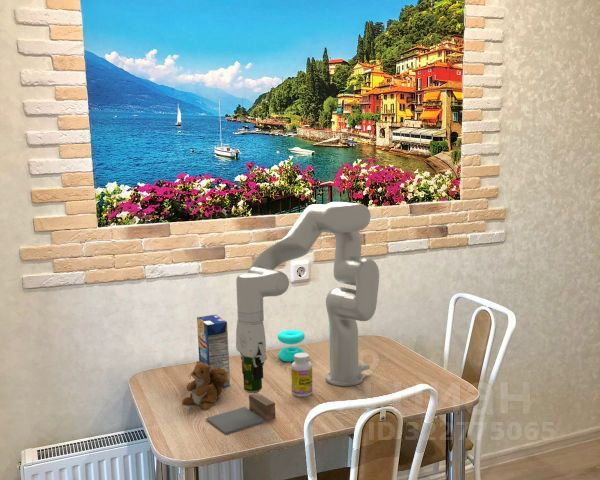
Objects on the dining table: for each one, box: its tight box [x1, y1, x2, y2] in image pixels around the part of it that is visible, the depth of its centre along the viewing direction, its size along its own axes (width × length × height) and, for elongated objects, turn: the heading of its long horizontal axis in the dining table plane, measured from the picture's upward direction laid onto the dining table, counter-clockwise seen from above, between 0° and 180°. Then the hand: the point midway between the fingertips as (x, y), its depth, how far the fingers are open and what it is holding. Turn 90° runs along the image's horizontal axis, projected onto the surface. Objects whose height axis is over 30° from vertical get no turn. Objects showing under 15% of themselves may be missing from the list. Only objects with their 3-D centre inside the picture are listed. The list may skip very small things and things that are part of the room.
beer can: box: [242, 353, 263, 394], centre depth 187 cm, size 5×5×12 cm
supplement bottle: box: [290, 352, 313, 398], centre depth 204 cm, size 7×7×13 cm
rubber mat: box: [205, 406, 267, 435], centre depth 186 cm, size 13×12×1 cm
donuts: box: [277, 329, 306, 363], centre depth 238 cm, size 10×10×10 cm
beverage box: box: [196, 314, 231, 388], centre depth 215 cm, size 7×11×22 cm, turn 27°
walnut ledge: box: [248, 392, 276, 421], centre depth 191 cm, size 3×10×4 cm, turn 35°
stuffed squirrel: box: [181, 360, 230, 410], centre depth 200 cm, size 10×14×13 cm
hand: (252, 375), depth 187 cm, fingers closed on beer can, 5 cm apart
